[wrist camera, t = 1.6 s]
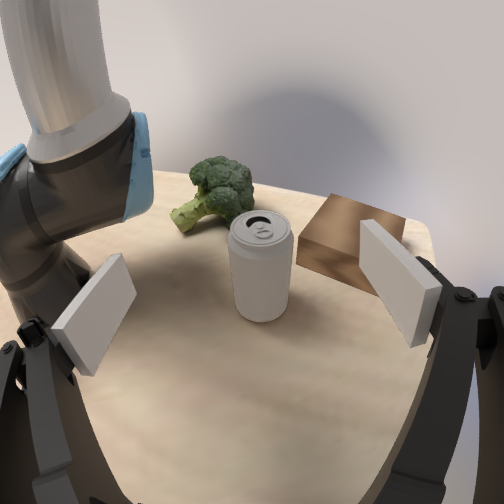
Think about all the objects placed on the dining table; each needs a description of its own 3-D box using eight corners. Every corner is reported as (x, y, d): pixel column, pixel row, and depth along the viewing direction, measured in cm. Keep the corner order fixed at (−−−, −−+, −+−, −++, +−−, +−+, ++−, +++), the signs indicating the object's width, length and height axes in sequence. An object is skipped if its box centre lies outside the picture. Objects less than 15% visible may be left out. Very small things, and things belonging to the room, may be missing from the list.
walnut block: (295, 263, 39) (298, 236, 35) (327, 218, 47) (331, 193, 43) (381, 297, 33) (393, 271, 30) (397, 243, 41) (405, 218, 38)
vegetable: (168, 197, 50) (234, 151, 49) (204, 253, 51) (272, 207, 50) (141, 191, 38) (225, 131, 37) (187, 263, 39) (275, 204, 38)
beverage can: (278, 280, 37) (281, 202, 29) (294, 318, 32) (305, 240, 24) (231, 290, 36) (220, 212, 28) (242, 331, 31) (233, 254, 23)
